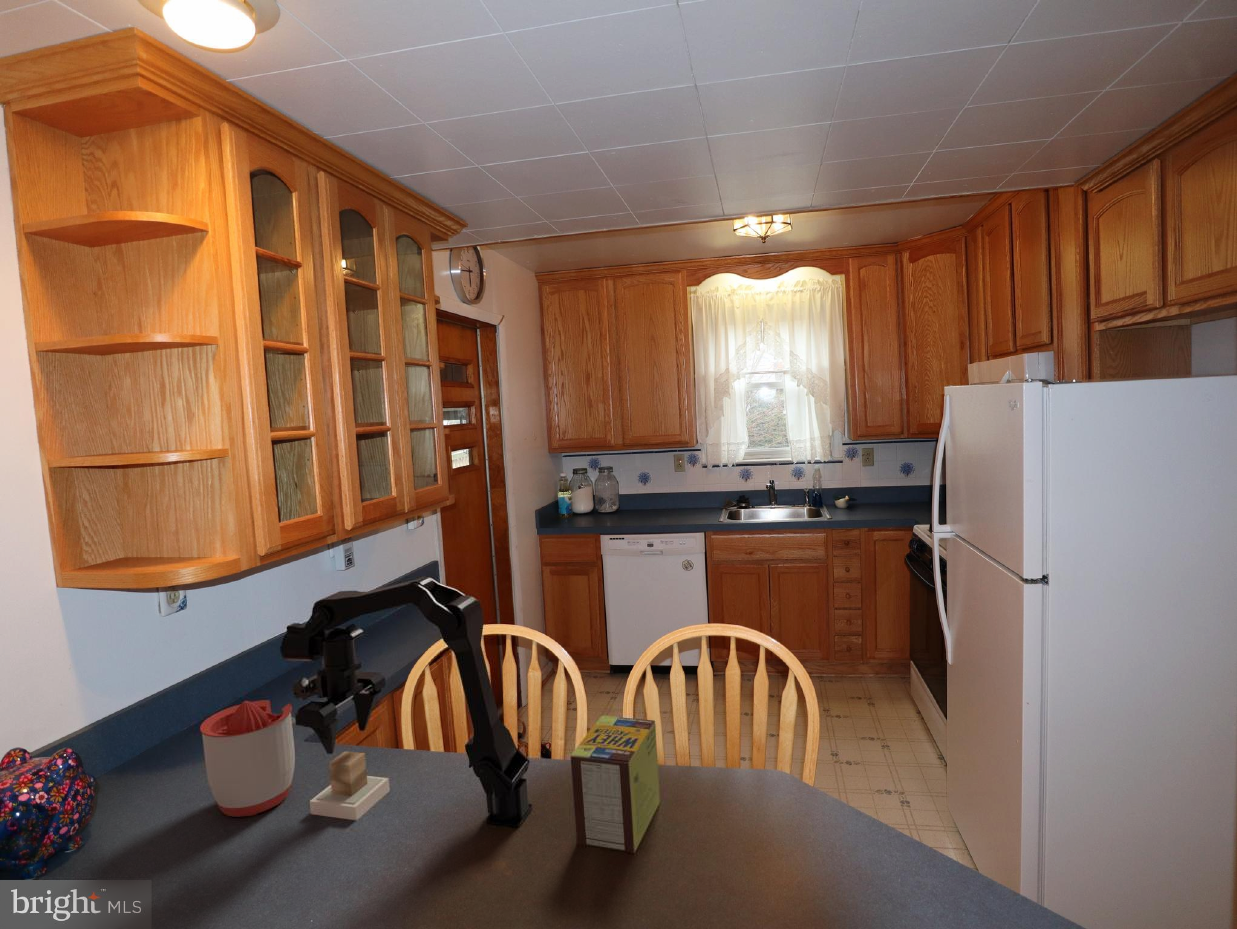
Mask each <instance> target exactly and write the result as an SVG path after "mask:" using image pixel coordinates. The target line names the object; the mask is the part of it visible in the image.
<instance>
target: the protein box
mask: <svg viewBox="0 0 1237 929" xmlns="http://www.w3.org/2000/svg"><path fill="white" fill-rule="evenodd" d="M656 727H657V726H656V720H654V719H653V720H651V719H641V718H640V719H639V718H629V717H621V716H611V715H600V717H599V719H598V720H597V721H596V722H595V724H594V725H593V726H592V728H591V729H590V730H589V731H588V732H587V734H586V735H585V737H583V739H582V740H581V741H580V742H579V744H578V745H577V746H576V748H575V749H574V751H572V753H571V754H570V765H571V766H570V769H571V781H572V794H573V810H574V824H575V835H576V844H577V845H580V846H586V847H587V846H588V847H592V848H593V847H594V848H600V849H606V850H613V851H619V852H624V853H630V854H631V853H632V854H635V853H636V851H637V849H638V847H639V845H640V843H641V841H642V839H643V837H644V835H645V833H646V831H647V830H648V827H649V825H650V823H651V821H652V819H653V817H654V815H655V813H656V811H657V809H658V807H659V806H660V805H659V804H661V801H660V800H661V799H660V797H661V796H660V784H659V781H660V780H659V779H660V778H659V763H658V762H659V761H658V747H657V730H656Z"/></svg>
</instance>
